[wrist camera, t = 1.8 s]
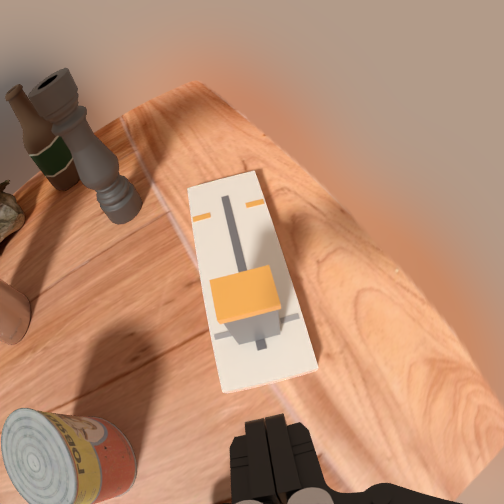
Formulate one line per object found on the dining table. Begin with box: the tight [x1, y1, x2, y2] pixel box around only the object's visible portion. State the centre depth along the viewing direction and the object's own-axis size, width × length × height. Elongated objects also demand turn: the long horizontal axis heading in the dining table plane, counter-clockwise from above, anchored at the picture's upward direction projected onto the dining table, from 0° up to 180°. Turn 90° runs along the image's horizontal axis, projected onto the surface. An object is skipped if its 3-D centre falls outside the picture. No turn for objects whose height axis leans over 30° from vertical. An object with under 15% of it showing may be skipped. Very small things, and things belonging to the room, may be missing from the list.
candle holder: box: [28, 68, 142, 224], centre depth 35 cm, size 6×6×25 cm
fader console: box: [187, 171, 318, 393], centre depth 36 cm, size 28×10×3 cm, turn 13°
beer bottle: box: [5, 84, 80, 190], centre depth 42 cm, size 8×8×24 cm
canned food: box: [1, 408, 137, 504], centre depth 22 cm, size 11×11×12 cm
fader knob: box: [209, 265, 281, 345], centre depth 27 cm, size 3×5×10 cm
